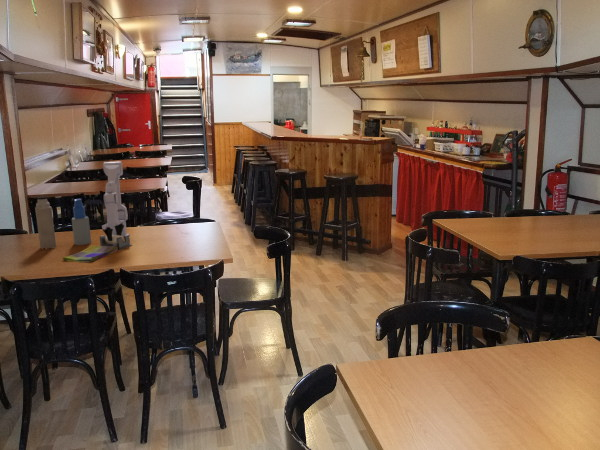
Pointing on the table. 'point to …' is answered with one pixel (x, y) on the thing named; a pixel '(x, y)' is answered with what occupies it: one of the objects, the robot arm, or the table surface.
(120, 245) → the roll holder
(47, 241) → the thermos bottle
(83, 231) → the spray bottle
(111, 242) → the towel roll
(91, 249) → the dish towel
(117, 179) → the robot arm
